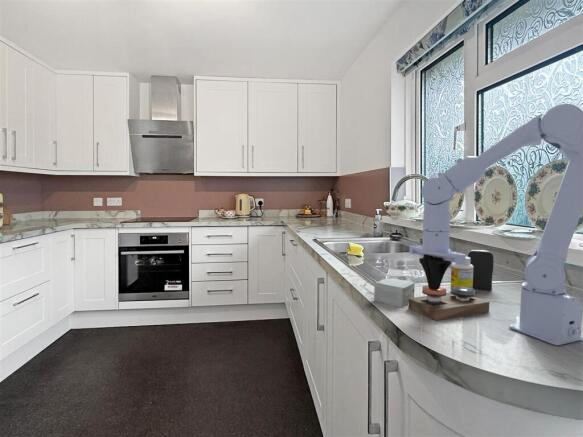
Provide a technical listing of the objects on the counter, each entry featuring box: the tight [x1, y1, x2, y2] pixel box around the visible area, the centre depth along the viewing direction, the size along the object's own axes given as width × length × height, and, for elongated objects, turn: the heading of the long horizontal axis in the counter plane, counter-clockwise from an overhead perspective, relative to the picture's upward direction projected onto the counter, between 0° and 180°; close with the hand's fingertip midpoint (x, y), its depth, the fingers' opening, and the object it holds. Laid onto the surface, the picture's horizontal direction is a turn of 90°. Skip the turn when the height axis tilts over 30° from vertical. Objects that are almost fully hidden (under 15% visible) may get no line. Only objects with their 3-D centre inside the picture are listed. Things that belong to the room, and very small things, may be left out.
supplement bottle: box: [450, 256, 473, 289], centre depth 98 cm, size 6×6×10 cm
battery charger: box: [466, 249, 495, 291], centre depth 103 cm, size 7×4×11 cm, turn 66°
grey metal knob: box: [450, 286, 476, 302], centre depth 85 cm, size 5×5×4 cm
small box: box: [373, 277, 416, 308], centre depth 91 cm, size 8×8×5 cm
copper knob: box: [421, 284, 447, 306], centre depth 82 cm, size 5×5×4 cm
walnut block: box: [407, 292, 490, 322], centre depth 83 cm, size 9×16×2 cm, turn 111°
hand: (434, 288), depth 82 cm, fingers closed, pressing on copper knob
